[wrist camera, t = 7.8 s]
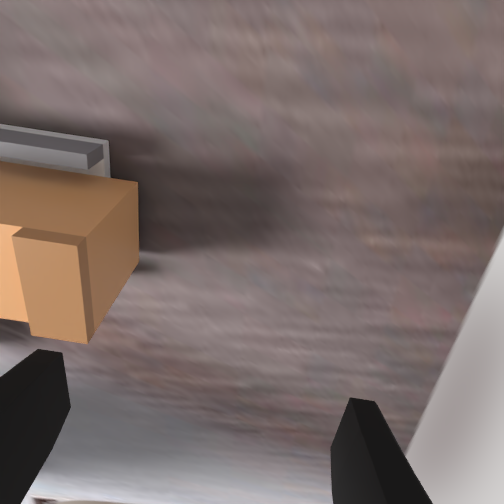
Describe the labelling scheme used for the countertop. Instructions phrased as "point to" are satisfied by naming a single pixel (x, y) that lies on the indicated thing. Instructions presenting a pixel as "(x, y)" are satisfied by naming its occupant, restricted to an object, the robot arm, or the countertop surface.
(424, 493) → the robot arm
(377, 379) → the countertop surface
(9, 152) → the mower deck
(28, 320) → the orange stepped block
